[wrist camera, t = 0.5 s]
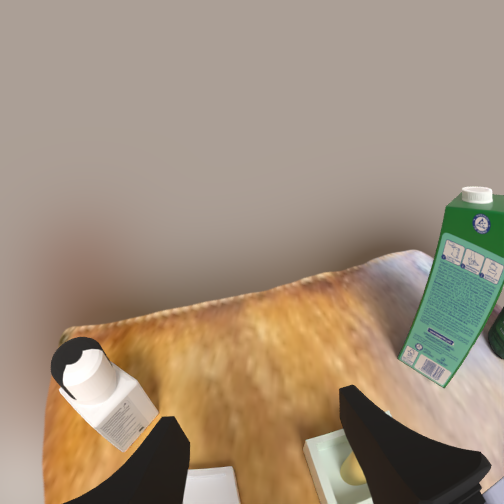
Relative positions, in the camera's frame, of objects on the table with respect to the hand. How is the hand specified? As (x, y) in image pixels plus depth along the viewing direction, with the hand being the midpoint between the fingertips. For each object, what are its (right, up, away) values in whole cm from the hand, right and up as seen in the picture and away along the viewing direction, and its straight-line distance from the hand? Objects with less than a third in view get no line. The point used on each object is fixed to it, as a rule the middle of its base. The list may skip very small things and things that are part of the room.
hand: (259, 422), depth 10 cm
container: (-17, -14, +17) cm, 28 cm away
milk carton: (+26, -8, +22) cm, 35 cm away
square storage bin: (+11, -16, +10) cm, 22 cm away
